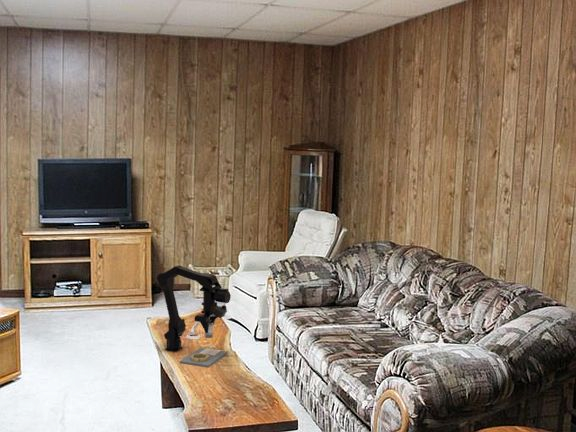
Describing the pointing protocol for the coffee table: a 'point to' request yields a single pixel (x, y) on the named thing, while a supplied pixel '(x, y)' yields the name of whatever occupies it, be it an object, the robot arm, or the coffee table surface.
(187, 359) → the board
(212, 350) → the mat
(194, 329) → the hook
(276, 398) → the coffee table surface
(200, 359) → the brass octagonal ring
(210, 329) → the peg
